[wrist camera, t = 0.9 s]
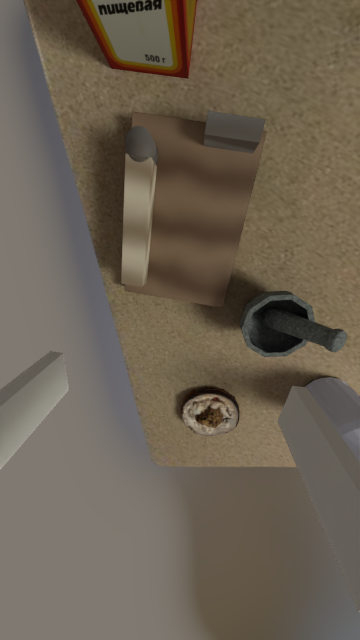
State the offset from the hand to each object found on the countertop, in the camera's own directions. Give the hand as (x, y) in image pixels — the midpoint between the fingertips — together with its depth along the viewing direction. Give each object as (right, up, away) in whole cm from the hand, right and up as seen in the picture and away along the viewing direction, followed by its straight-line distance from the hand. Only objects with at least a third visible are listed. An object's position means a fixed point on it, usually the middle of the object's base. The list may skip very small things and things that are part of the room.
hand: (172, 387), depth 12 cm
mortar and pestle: (+15, +6, +22) cm, 28 cm away
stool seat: (+1, +18, +18) cm, 26 cm away
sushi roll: (+7, -15, +32) cm, 36 cm away
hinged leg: (-5, +18, +16) cm, 25 cm away
